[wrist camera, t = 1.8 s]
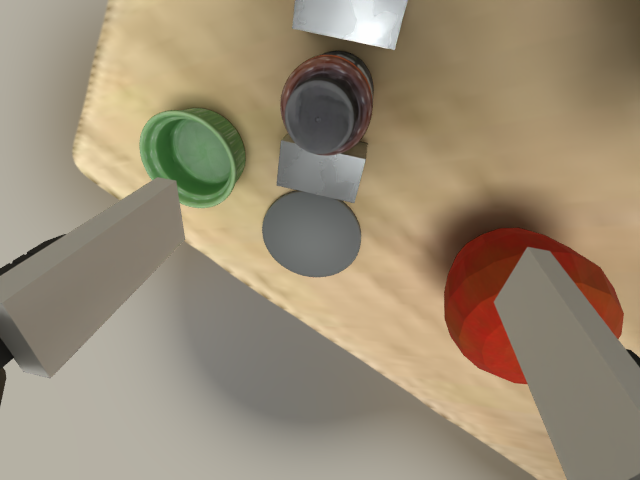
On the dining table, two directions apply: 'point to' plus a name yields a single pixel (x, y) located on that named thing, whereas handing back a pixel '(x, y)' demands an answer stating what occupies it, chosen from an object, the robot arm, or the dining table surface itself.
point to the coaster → (311, 234)
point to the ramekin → (193, 154)
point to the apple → (486, 283)
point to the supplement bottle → (328, 103)
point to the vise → (354, 25)
